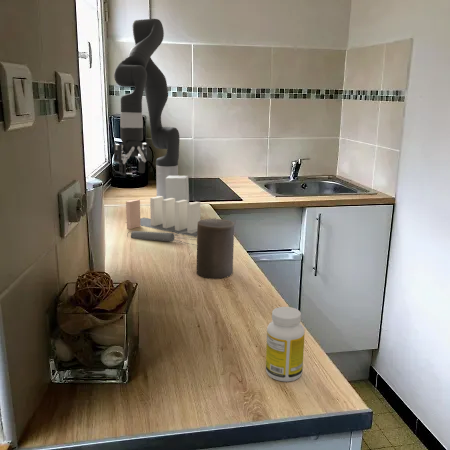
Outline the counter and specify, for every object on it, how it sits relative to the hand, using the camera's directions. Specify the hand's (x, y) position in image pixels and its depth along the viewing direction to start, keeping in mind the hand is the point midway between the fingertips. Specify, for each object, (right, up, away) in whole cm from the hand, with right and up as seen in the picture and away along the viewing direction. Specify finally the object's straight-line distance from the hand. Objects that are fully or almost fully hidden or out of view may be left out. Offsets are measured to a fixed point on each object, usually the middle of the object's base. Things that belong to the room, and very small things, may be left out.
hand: (132, 173), depth 168 cm
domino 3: (+12, -18, +5) cm, 22 cm away
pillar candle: (+30, -31, -40) cm, 58 cm away
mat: (+12, -19, +5) cm, 23 cm away
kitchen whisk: (+16, -24, -15) cm, 32 cm away
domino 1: (0, -19, +3) cm, 19 cm away
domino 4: (+17, -19, +2) cm, 26 cm away
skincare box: (+13, -14, +24) cm, 31 cm away
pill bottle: (+42, -43, -87) cm, 105 cm away
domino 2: (+8, -18, +7) cm, 20 cm away
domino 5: (+21, -20, -1) cm, 29 cm away
